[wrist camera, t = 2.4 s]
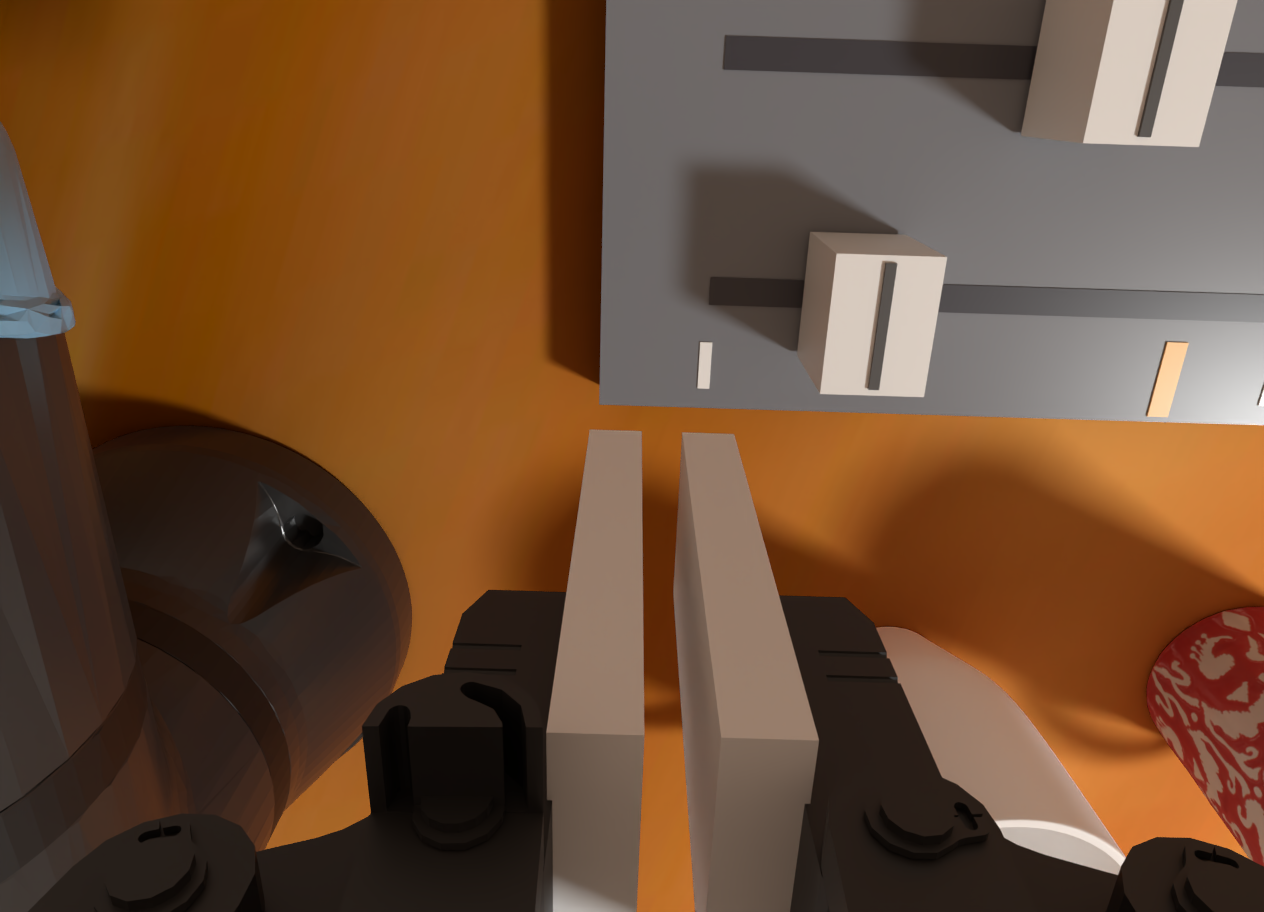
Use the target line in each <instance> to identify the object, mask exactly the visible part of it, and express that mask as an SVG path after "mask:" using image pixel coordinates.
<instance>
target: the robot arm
mask: <svg viewBox="0 0 1264 912" xmlns="http://www.w3.org/2000/svg"><path fill="white" fill-rule="evenodd" d="M74 326H75V317H74V312H73V308H72V304H71V301H70V300H69V299H68V298H67V297H66V296H65V295H64V294H63V293H62V292H61V291H60V290H59V289H57V288H56V287H55V285H54V281H53V278H52V275H51V271H50V268H49V265H48V261H47V258H46V254H45V251H44V248H43V244H42V241H41V237H40V234H39V231H38V227H37V224H36V220H35V217H34V214H33V210H32V207H31V203H30V200H29V197H28V193H27V190H26V186H25V183H24V180H23V176H22V173H21V169H20V166H19V163H18V159H17V156H16V153H15V149H14V147H13V145H12V143H11V140H10V138H9V136H8V134H7V132H6V130H5V128H4V127H3V125H2V123H1V122H0V912H636V910H637V888H638V865H639V843H640V821H641V798H642V776H643V754H644V642H643V528H642V431H618V430H590V432H589V439H588V446H587V453H586V460H585V467H584V474H583V481H582V488H581V495H580V502H579V509H578V516H577V523H576V530H575V537H574V544H573V551H572V557H571V564H570V571H569V578H568V585H567V592H542V591H509V590H488V591H487V592H486V593H485V594H484V595H482V596H481V597H480V598H479V599H478V600H477V601H476V602H475V603H474V604H473V605H472V606H470V607H469V608H468V609H467V610H466V611H465V612H464V613H463V614H462V617H461V620H460V623H459V626H458V629H457V631H456V634H455V637H454V640H453V647H452V649H450V652H449V655H448V658H447V661H446V664H445V670H444V673H442V674H441V675H433V676H430V677H427V678H424V679H421V680H419V681H416V682H413V683H410V684H407V685H405V686H402V687H400V688H399V689H398V690H396V691H395V692H393V693H392V691H393V688H394V686H395V684H396V681H397V679H398V676H399V674H400V671H401V669H402V667H403V664H404V661H405V658H406V655H407V652H408V648H409V643H410V637H411V627H412V608H411V600H410V593H409V588H408V584H407V580H406V577H405V573H404V570H403V568H402V565H401V563H400V560H399V558H398V556H397V553H396V551H395V549H394V547H393V545H392V544H391V542H390V540H389V538H388V537H387V535H386V533H385V532H384V530H383V529H382V527H381V526H380V524H379V523H378V522H377V520H376V519H375V518H374V516H373V515H372V514H371V513H370V511H369V510H368V509H367V508H366V507H365V506H364V505H363V503H362V502H361V501H360V500H359V499H358V498H357V497H356V496H355V495H354V494H353V493H352V492H351V491H350V490H348V489H347V488H346V487H345V486H344V485H343V484H341V483H340V482H339V481H338V480H337V479H335V478H334V477H333V476H331V475H330V474H329V473H327V472H326V471H325V470H323V469H322V468H320V467H319V466H317V465H316V464H314V463H312V462H311V461H309V460H307V459H305V458H304V457H302V456H300V455H298V454H296V453H294V452H292V451H290V450H288V449H286V448H284V447H282V446H279V445H277V444H274V443H272V442H270V441H267V440H264V439H261V438H258V437H255V436H252V435H248V434H244V433H240V432H236V431H231V430H226V429H220V428H213V427H203V426H168V427H158V428H152V429H146V430H142V431H137V432H133V433H130V434H127V435H123V436H120V437H118V438H115V439H113V440H110V441H108V442H106V443H104V444H102V445H100V446H98V447H96V448H94V449H93V450H92V447H91V443H90V439H89V434H88V430H87V426H86V422H85V418H84V413H83V409H82V405H81V401H80V397H79V392H78V388H77V384H76V380H75V376H74V371H73V367H72V363H71V359H70V355H69V350H68V346H67V342H66V338H65V332H66V331H68V330H70V329H71V328H73V327H74ZM673 596H674V611H675V625H676V640H677V654H678V669H679V684H680V698H681V713H682V727H683V742H684V756H685V771H686V785H687V800H688V814H689V829H690V843H691V858H692V872H693V887H694V901H695V912H1264V866H1262V865H1260V864H1258V863H1256V862H1254V861H1252V860H1250V859H1248V858H1246V857H1244V856H1242V855H1240V854H1238V853H1236V852H1234V851H1232V850H1230V849H1227V848H1224V847H1220V846H1217V845H1213V844H1210V843H1206V842H1202V841H1199V840H1195V839H1192V838H1167V837H1156V838H1153V839H1151V840H1148V841H1146V842H1143V843H1141V844H1138V845H1136V846H1133V847H1132V849H1131V850H1130V852H1129V854H1128V855H1127V857H1126V859H1125V860H1124V862H1123V864H1122V865H1121V868H1120V871H1119V874H1118V875H1116V874H1112V873H1109V872H1105V871H1101V870H1098V869H1094V868H1091V867H1087V866H1083V865H1080V864H1076V863H1073V862H1069V861H1065V860H1062V859H1058V858H1055V857H1051V856H1047V855H1044V854H1042V853H1039V852H1036V851H1033V850H1030V849H1028V848H1025V847H1022V846H1019V845H1017V844H1015V843H1013V842H1011V841H1009V840H1008V839H1006V838H1004V836H1003V834H1002V832H1001V829H1000V828H999V827H998V825H997V824H996V822H995V821H994V819H993V818H992V817H991V815H990V814H989V812H988V811H987V809H986V808H985V807H984V805H983V804H982V803H980V802H979V801H978V800H977V799H975V798H974V797H973V796H972V795H970V794H969V793H968V792H966V791H965V790H964V789H963V788H961V787H960V786H959V785H957V784H956V783H953V782H951V781H949V780H947V779H944V778H942V776H941V774H940V772H939V769H938V767H937V765H936V763H935V760H934V758H933V756H932V753H931V751H930V749H929V747H928V744H927V742H926V740H925V738H924V735H923V733H922V731H921V729H920V726H919V724H918V722H917V720H916V717H915V715H914V713H913V710H912V708H911V706H910V704H909V701H908V699H907V697H906V695H905V692H904V690H903V688H902V686H901V683H898V677H897V674H896V672H895V670H894V667H893V665H892V663H891V661H890V658H887V652H886V649H885V647H884V645H883V643H882V640H881V638H880V636H879V634H878V631H877V629H876V627H875V624H874V623H873V622H872V621H871V620H870V619H869V618H868V617H867V616H865V615H864V614H863V613H862V612H861V611H860V610H859V609H857V608H856V607H855V606H854V605H853V604H852V603H851V602H850V601H848V600H847V599H846V598H844V597H811V596H779V594H778V591H777V587H776V583H775V580H774V576H773V573H772V569H771V565H770V562H769V558H768V555H767V551H766V547H765V544H764V540H763V537H762V533H761V529H760V526H759V522H758V519H757V515H756V511H755V508H754V504H753V501H752V497H751V493H750V490H749V486H748V483H747V479H746V475H745V472H744V468H743V465H742V461H741V457H740V454H739V450H738V447H737V443H736V439H735V436H734V434H715V433H683V432H682V447H681V465H680V483H679V500H678V518H677V536H676V554H675V572H674V589H673ZM391 693H392V694H391ZM362 738H363V743H364V752H365V761H366V771H367V780H368V789H369V798H370V807H371V814H370V815H369V816H368V817H366V818H365V819H363V820H361V821H359V822H357V823H355V824H353V825H351V826H349V827H347V828H345V829H343V830H340V831H337V832H334V833H330V834H327V835H324V836H321V837H318V838H314V839H310V840H306V841H301V842H297V843H293V844H288V845H284V846H279V847H275V848H271V849H266V850H265V848H266V845H267V843H268V841H269V839H270V837H271V835H272V833H273V831H274V829H275V827H276V825H277V823H278V821H279V819H280V817H281V816H282V814H283V812H284V811H285V810H286V809H287V808H288V807H289V806H290V805H291V804H292V803H293V802H294V801H295V800H296V799H297V798H298V797H299V796H300V795H301V794H302V793H303V792H304V791H305V790H306V789H307V788H308V787H309V786H311V785H312V784H313V783H314V782H315V781H316V780H317V779H318V778H319V777H320V776H321V775H322V774H323V773H324V772H325V771H326V770H327V769H328V768H329V767H330V766H331V765H332V764H333V763H334V762H335V761H336V760H337V759H339V758H340V757H341V756H342V755H344V754H345V753H346V752H347V751H349V750H350V749H351V748H352V747H353V746H355V745H356V744H357V743H358V742H359V741H360V740H361V739H362Z"/></svg>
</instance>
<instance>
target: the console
mask: <svg viewBox="0 0 1264 912" xmlns="http://www.w3.org/2000/svg"><path fill="white" fill-rule="evenodd" d="M1045 4H1046V0H606V45H605V103H604V162H603V220H602V279H601V337H600V396H599V404H600V405H632V406H664V407H696V408H728V409H761V410H793V411H825V412H857V413H889V414H921V415H953V416H985V417H1017V418H1050V419H1082V420H1114V421H1146V422H1178V423H1210V424H1242V425H1264V0H1238V1H1237V4H1236V8H1235V12H1234V16H1233V20H1232V23H1231V27H1230V31H1229V35H1228V39H1227V42H1226V46H1225V50H1224V54H1223V58H1222V61H1221V65H1220V69H1219V73H1218V77H1217V80H1216V84H1215V88H1214V92H1213V95H1212V99H1211V103H1210V107H1209V111H1208V114H1207V118H1206V122H1205V126H1204V130H1203V133H1202V137H1201V141H1200V145H1199V147H1181V146H1150V145H1120V144H1089V143H1076V142H1068V141H1059V140H1051V139H1042V138H1034V137H1025V136H1021V131H1022V126H1023V121H1024V116H1025V110H1026V105H1027V100H1028V94H1029V89H1030V84H1031V78H1032V73H1033V68H1034V63H1035V57H1036V52H1037V47H1038V41H1039V36H1040V31H1041V25H1042V20H1043V15H1044V10H1045ZM810 232H837V233H868V234H899V235H907V236H909V237H911V238H913V239H915V240H916V241H918V242H920V243H922V244H924V245H926V246H928V247H929V248H931V249H933V250H935V251H937V252H939V253H941V254H942V255H944V256H946V257H947V262H946V268H945V274H944V280H943V286H942V292H941V298H940V304H939V310H938V316H937V322H936V328H935V334H934V340H933V346H932V352H931V358H930V364H929V370H928V376H927V382H926V388H925V394H924V397H901V396H869V395H837V394H820V393H819V391H818V390H817V388H816V386H815V385H814V383H813V381H812V380H811V378H810V376H809V375H808V373H807V371H806V370H805V368H804V366H803V365H802V363H801V361H800V360H799V358H798V356H797V350H798V340H799V331H800V321H801V312H802V303H803V293H804V284H805V274H806V265H807V255H808V246H809V237H810Z"/></svg>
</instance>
